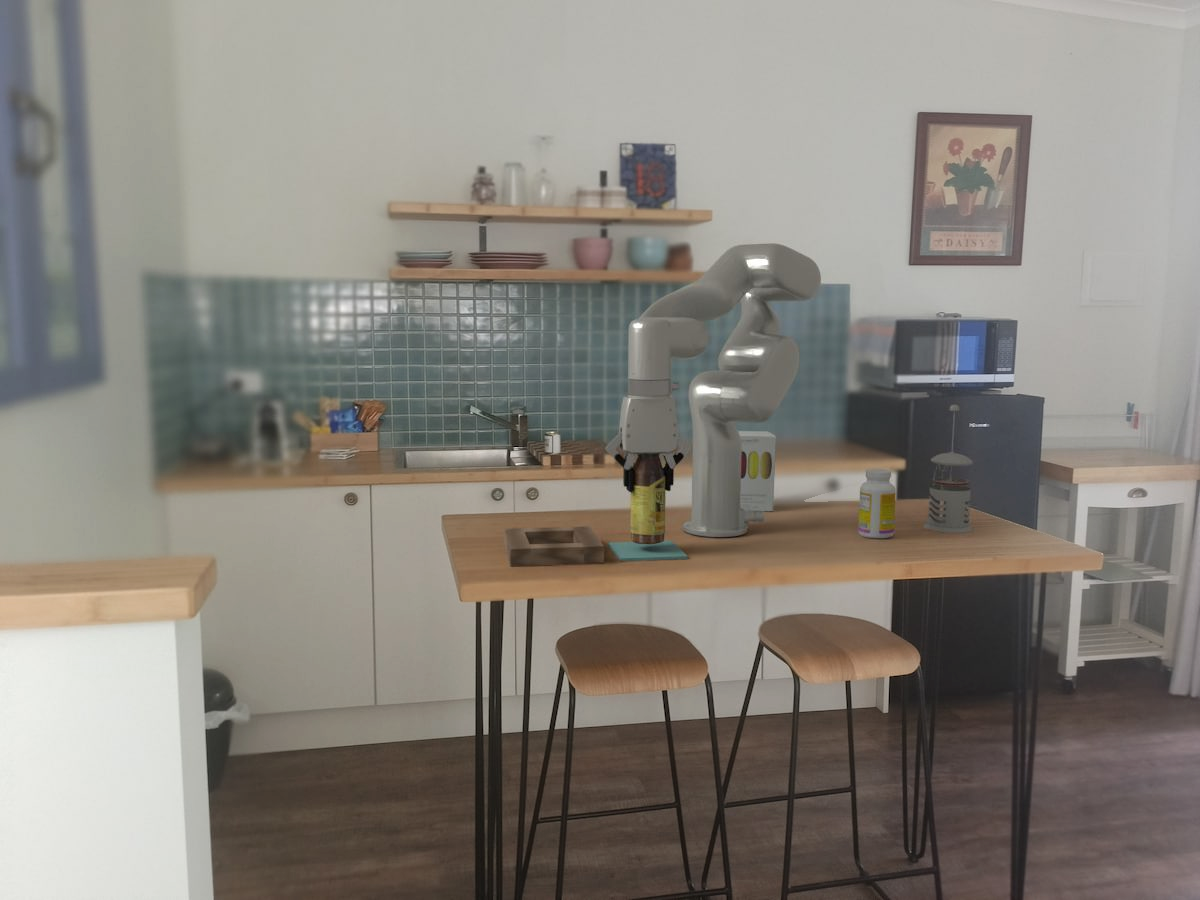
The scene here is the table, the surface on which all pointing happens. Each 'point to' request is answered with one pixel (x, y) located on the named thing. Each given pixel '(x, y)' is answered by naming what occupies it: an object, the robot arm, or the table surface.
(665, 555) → the teal mat
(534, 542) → the pocket block
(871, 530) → the supplement bottle
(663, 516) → the sauce bottle
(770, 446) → the supplement box
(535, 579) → the table surface
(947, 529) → the french press
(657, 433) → the robot arm
